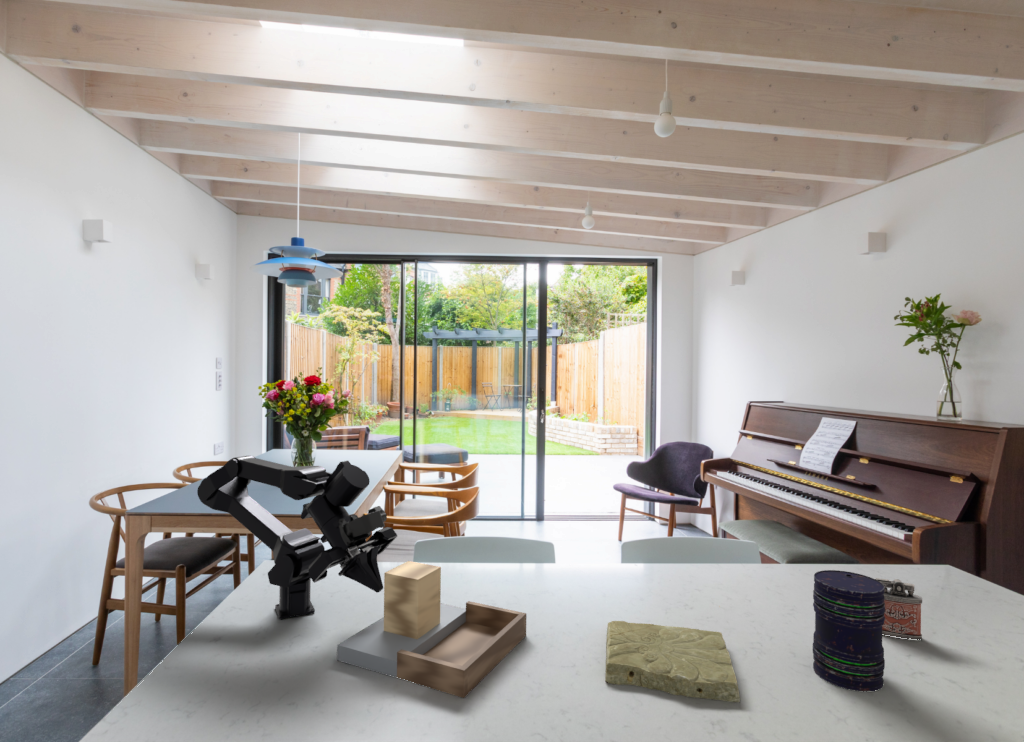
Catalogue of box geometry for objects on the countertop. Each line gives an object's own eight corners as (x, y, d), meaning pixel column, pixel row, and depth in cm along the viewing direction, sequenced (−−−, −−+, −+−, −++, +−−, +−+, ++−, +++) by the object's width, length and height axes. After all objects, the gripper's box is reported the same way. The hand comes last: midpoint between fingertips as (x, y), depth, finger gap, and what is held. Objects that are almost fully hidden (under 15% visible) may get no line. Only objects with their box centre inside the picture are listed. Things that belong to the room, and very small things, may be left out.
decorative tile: (606, 635, 104) (607, 615, 104) (722, 647, 100) (722, 627, 100) (601, 691, 86) (601, 667, 86) (742, 708, 82) (742, 683, 82)
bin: (396, 678, 88) (397, 652, 88) (468, 622, 107) (468, 601, 108) (464, 698, 82) (464, 670, 82) (526, 635, 102) (526, 613, 102)
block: (383, 630, 98) (384, 572, 98) (407, 615, 104) (408, 560, 104) (417, 639, 95) (417, 579, 95) (440, 623, 101) (440, 566, 101)
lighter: (919, 635, 104) (920, 580, 104) (924, 643, 101) (924, 587, 101) (868, 626, 108) (868, 573, 108) (870, 634, 105) (871, 579, 105)
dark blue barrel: (885, 699, 83) (886, 597, 83) (809, 680, 88) (810, 584, 89) (883, 670, 92) (884, 577, 92) (814, 653, 97) (815, 565, 97)
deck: (337, 660, 93) (337, 644, 93) (415, 610, 113) (416, 597, 113) (396, 678, 88) (397, 661, 88) (468, 622, 107) (468, 609, 108)
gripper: (321, 505, 97) (372, 581, 92) (390, 486, 114) (436, 549, 109) (287, 545, 100) (334, 620, 95) (358, 520, 117) (402, 583, 112)
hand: (380, 590), depth 103 cm, fingers closed
